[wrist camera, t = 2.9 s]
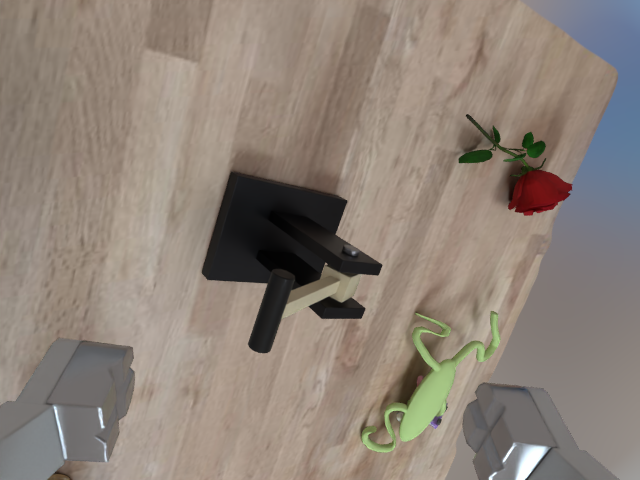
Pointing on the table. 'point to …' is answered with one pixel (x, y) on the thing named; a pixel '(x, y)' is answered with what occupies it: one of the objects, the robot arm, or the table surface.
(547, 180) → the flower
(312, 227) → the bracket
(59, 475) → the sprinkles bottle
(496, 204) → the table surface
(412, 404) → the figurine
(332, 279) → the lever
